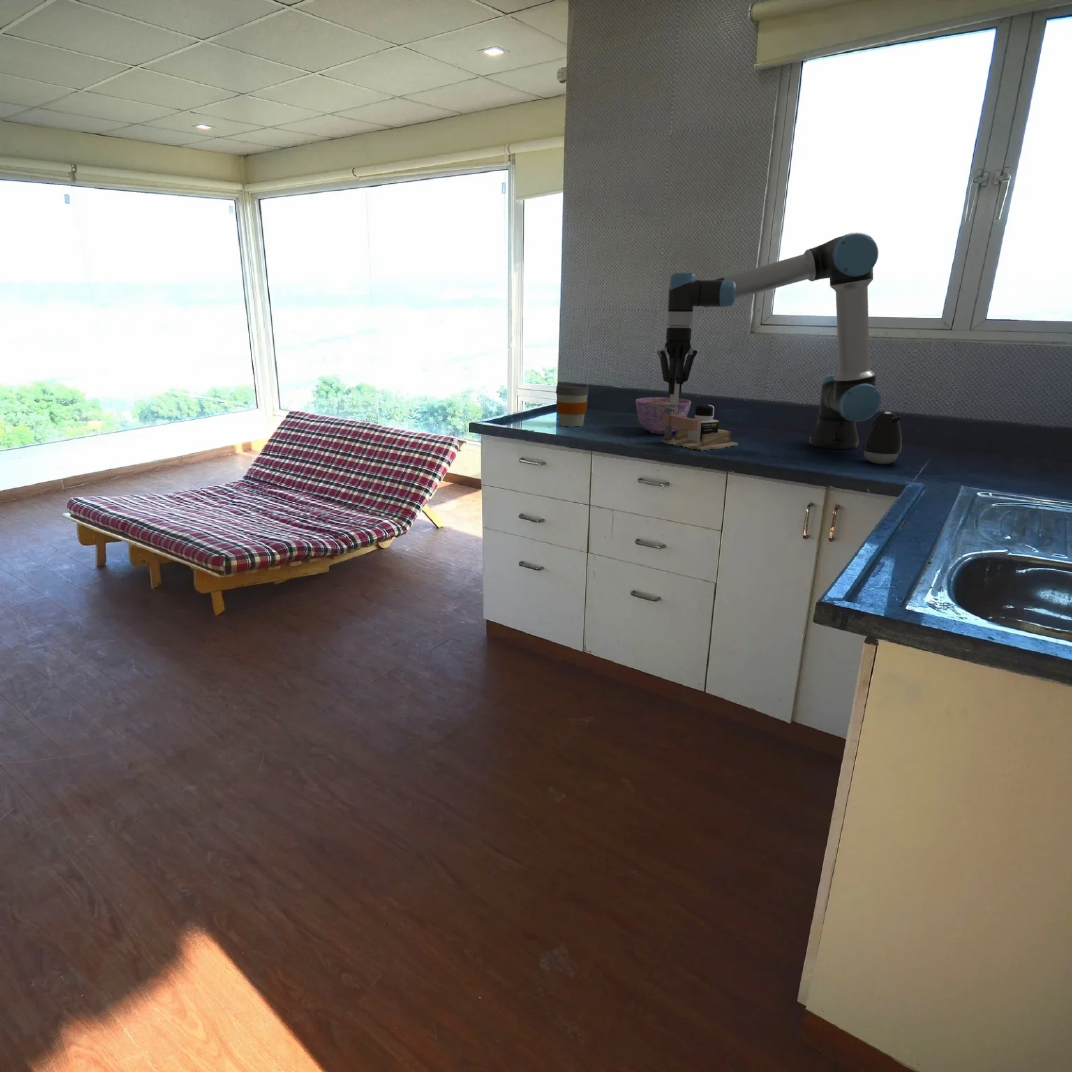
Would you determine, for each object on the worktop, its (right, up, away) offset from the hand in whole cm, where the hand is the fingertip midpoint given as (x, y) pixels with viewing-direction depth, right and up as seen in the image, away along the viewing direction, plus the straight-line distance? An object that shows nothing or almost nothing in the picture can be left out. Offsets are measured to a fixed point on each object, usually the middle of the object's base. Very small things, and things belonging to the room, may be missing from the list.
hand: (673, 404), depth 218 cm
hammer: (+4, -10, +11) cm, 15 cm away
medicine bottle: (+12, -10, +14) cm, 21 cm away
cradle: (+12, -11, +14) cm, 21 cm away
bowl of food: (+2, -4, +35) cm, 35 cm away
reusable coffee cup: (-30, +1, +49) cm, 57 cm away
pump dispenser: (+59, -20, -12) cm, 64 cm away
